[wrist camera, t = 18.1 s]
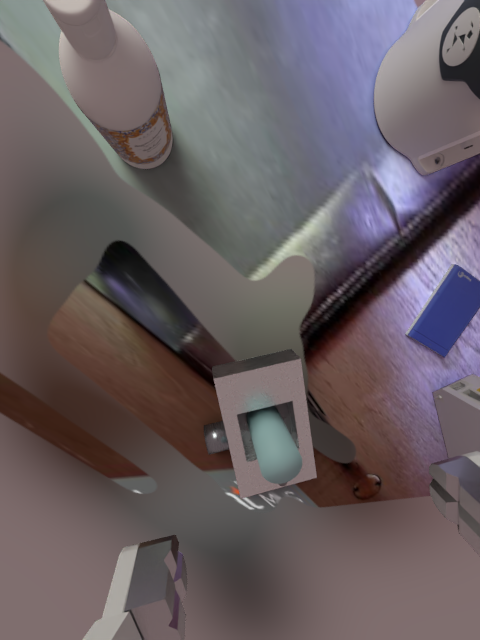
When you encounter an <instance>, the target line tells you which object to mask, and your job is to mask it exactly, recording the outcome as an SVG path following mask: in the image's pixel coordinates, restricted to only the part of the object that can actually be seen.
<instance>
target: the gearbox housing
mask: <svg viewBox="0 0 480 640" xmlns="http://www.w3.org/2000/svg"><path fill="white" fill-rule="evenodd" d="M212 369H213V378H214V383H215V387H216V391H217V396H218V400H219V405H220V409H221V414H222V418H223V421H220V422H216V423H212V424H208V425H204V435H205V441H206V446H207V450H208V453H209V454H213V453H217V452H221V451H225V450H229V449H230V453H231V458H232V462H233V466H234V471H235V475H236V480H237V484H238V488H239V493H240V497H241V498H245V497H248V496H252V495H255V494H259V493H263V492H266V491H270V490H274V489H277V488H281V487H285V486H288V485H292V484H295V483H299V482H303V481H306V480H310V479H314V478H317V475H316V468H315V460H314V453H313V446H312V438H311V431H310V423H309V416H308V409H307V401H306V394H305V386H304V379H303V372H302V365H301V359H300V357H299V356H298V355H297V354H296V353H295V352H294V351H293V350H292V349H288V350H284V351H279V352H276V353H271V354H267V355H262V356H258V357H254V358H249V359H244V360H241V361H236V362H231V363H227V364H223V365H218V366H214V367H212ZM270 406H275V407H276V408H277V409H278V411H279V413H280V415H281V417H282V419H283V421H284V423H285V425H286V427H287V429H288V431H289V433H290V435H291V437H292V439H293V441H294V443H295V445H296V447H297V449H298V451H299V453H300V455H301V457H302V468H301V470H300V472H299V474H298V475H297V476H296V477H295V478H294V479H292V480H290V481H288V482H287V484H286V485H285V486H280V485H279V484H275V483H271V482H269V481H267V480H266V479H265V478H264V477H263V476H262V474H261V470H260V467H259V463H258V460H257V456H256V453H255V449H254V445H253V442H252V438H251V435H250V431H249V428H248V424H247V415H248V413H249V412H250V411H254V410H258V409H262V408H266V407H270Z"/></svg>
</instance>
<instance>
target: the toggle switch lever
mask: <svg viewBox="0 0 480 640" xmlns="http://www.w3.org/2000/svg"><path fill="white" fill-rule="evenodd" d="M247 424H248V428H249V431H250V435H251V438H252V442H253V445H254V449H255V453H256V456H257V460H258V463H259V467H260V470H261V474H262V476H263V477H264V478H265V479H266V480H267V481H269V482H271V483H275V484H279V485H280V486H285V485H286V484H287V482H288V481H290V480H292V479H294V478H295V477H296V476H297V475H298V474H299V472H300V470H301V468H302V457H301V455H300V453H299V451H298V449H297V447H296V445H295V443H294V441H293V439H292V437H291V435H290V433H289V431H288V429H287V427H286V425H285V423H284V421H283V419H282V417H281V415H280V413H279V411H278V409H277V408H276V407H275V406H270V407H266V408H262V409H258V410H254V411H250V412H249V413H248V415H247Z"/></svg>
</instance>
